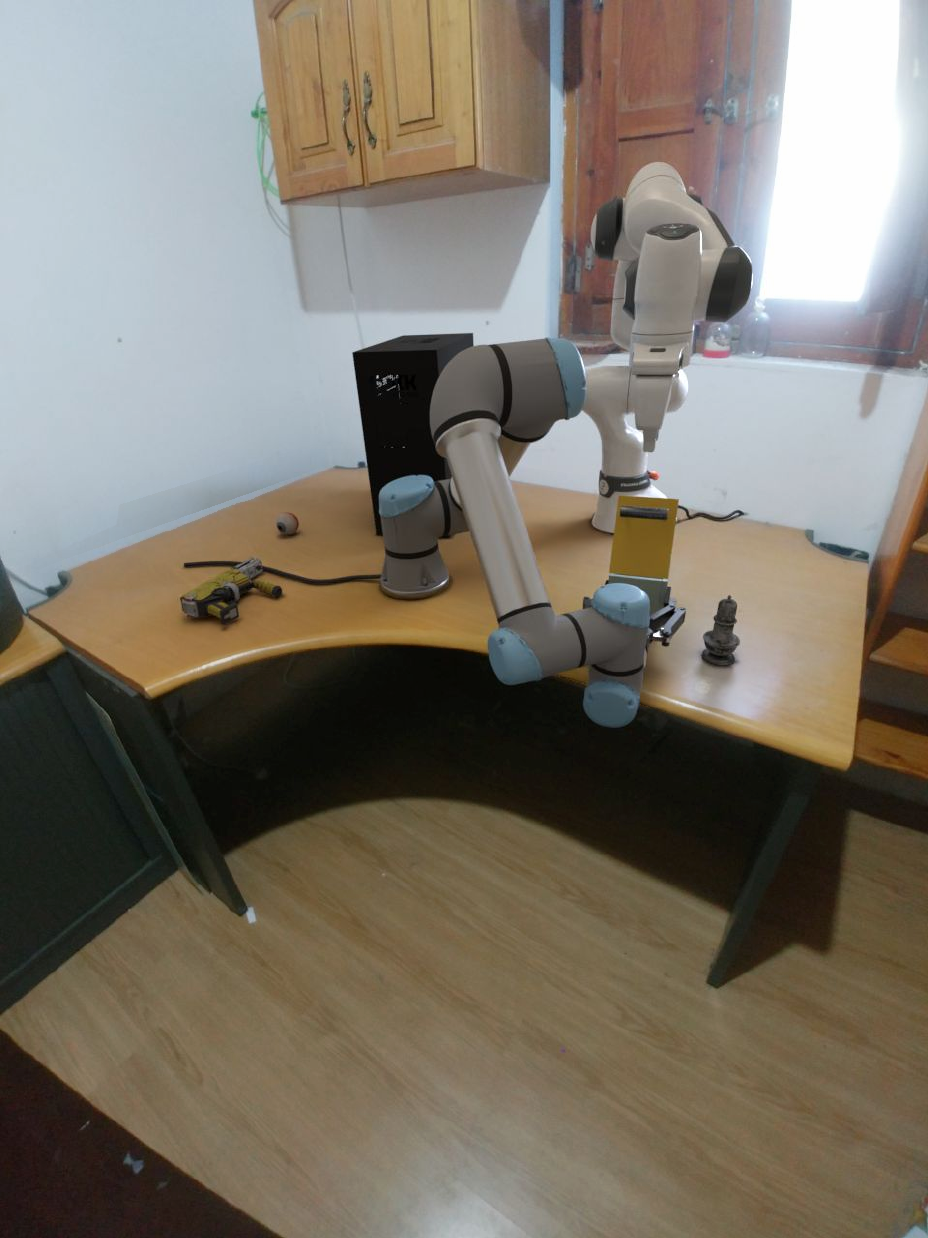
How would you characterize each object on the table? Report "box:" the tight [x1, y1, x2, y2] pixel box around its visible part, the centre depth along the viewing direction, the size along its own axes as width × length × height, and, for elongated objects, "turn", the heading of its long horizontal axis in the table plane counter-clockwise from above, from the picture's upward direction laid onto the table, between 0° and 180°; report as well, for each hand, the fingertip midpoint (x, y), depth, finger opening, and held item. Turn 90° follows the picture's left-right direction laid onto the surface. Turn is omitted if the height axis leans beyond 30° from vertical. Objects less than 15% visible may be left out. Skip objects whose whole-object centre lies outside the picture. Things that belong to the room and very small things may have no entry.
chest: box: [608, 552, 673, 631], centre depth 117 cm, size 14×10×10 cm
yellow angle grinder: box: [179, 556, 283, 625], centre depth 132 cm, size 5×24×15 cm
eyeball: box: [275, 511, 300, 536], centre depth 163 cm, size 6×6×6 cm
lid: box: [608, 495, 680, 580], centre depth 104 cm, size 14×10×9 cm
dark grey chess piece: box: [701, 594, 741, 666], centre depth 101 cm, size 6×6×12 cm
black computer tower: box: [351, 332, 475, 539], centre depth 164 cm, size 38×20×45 cm, turn 167°
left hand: (637, 589), depth 113 cm, fingers closed on chest, 10 cm apart
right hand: (650, 445), depth 97 cm, fingers open, 5 cm apart
